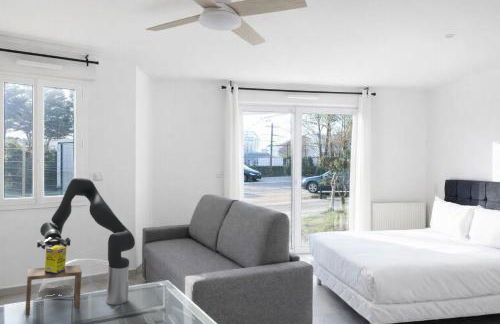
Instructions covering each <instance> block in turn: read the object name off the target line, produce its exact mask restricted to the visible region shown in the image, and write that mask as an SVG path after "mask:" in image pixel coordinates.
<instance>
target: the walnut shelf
mask: <svg viewBox="0 0 500 324" xmlns="http://www.w3.org/2000/svg"><path fill="white" fill-rule="evenodd" d="M64 277H66V278H67V277H74V289H73V302H74V307H75V309H79V308H80V304H81V289H82V287H81V286H82V269H81V266H80V264H77V265H65V271H62V272H60V273H58V274H50V273H45V267H37V268H28V269H27V279H26V280H27V281H26V294H25V295H26V296H25V297H26V298H25V316H29V315H31V314H30V312H31V311H30V310H31V298H32V297H31V295H32V281H33V280H34V281H35V280H44V279H53V278H56V279H57V278H64Z"/></svg>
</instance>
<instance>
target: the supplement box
mask: <svg viewBox="0 0 500 324" xmlns="http://www.w3.org/2000/svg"><path fill="white" fill-rule="evenodd" d="M45 250H46V251H45V262H44V268H45V273H50V274H58V273H60V272H62V271H65V266H66V262H67V261H66V258H67V247H64V246H57V245H55V246H53V247H45Z"/></svg>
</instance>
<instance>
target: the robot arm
mask: <svg viewBox="0 0 500 324" xmlns="http://www.w3.org/2000/svg"><path fill="white" fill-rule="evenodd" d="M76 196H79V197H84V198H86V199H87V200H88V201H89V215H90V216H91V218H92V219H93V220H94V221H95V223H96V224H97V225H99V226H100V227H102V228H104V229H106V230H108V231H110V232H112V233H111V234H110V235H109V237H108V240H107V261H108V271H107V282H106V283H107V286H106V300H105V302H106V303H107V304H108V305H112V306H113V305H114V306H117V305H122V304H125V303H128V302H129V300H128V299H129V286H130V281H129V269H130V260H129V258H127V257H124V256H122V252H127V251H130V250H132V249H133V248H134V247H135V245H136V241H135V237H134V235H133V233H132V232H131V231H130V230H129V229H128V228H127V227H126V225H124V224H123V223H122V222H121V220H120V219H119V218H118V217H117V216H116V214H115V213H114V211H113V210H112V208H111V207H110V206H109V204H108V203H107V202H106V200H105V199H104V198H103V197H102V196H101V194H100V192H99V191H98V188H97V187H96V185H95V184H94V182H93V181H92V180H91V179H90V178H89V179H88V178H85V177H84V178H83V177H74V178H72V179H71V180H70V181H69V183H68V186H67V188H66V190H65V192H64V195H63V196H62V199H61V202H60V204H59V206H58V208H57V209H56V210H55V211H54V213H53V215H52V217H51V222H49V221H48V222H44V223H42V225H41V227H40V230H39V232H40V234H41V236H43V237H44V238H43V239H41V238H38V239H37V244H36V248H41V249H43V250H46V248H50V247H53V246H55V245H57V246H64V247H66V248H68V247H70V246H71V239H70V237H66V238H65V239H63V238H62V232H63V228H64V226H65V224H66V222H67V220H68V219H69V217H70V215H71V213H72V202H73V199H74V198H75V197H76Z"/></svg>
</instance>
